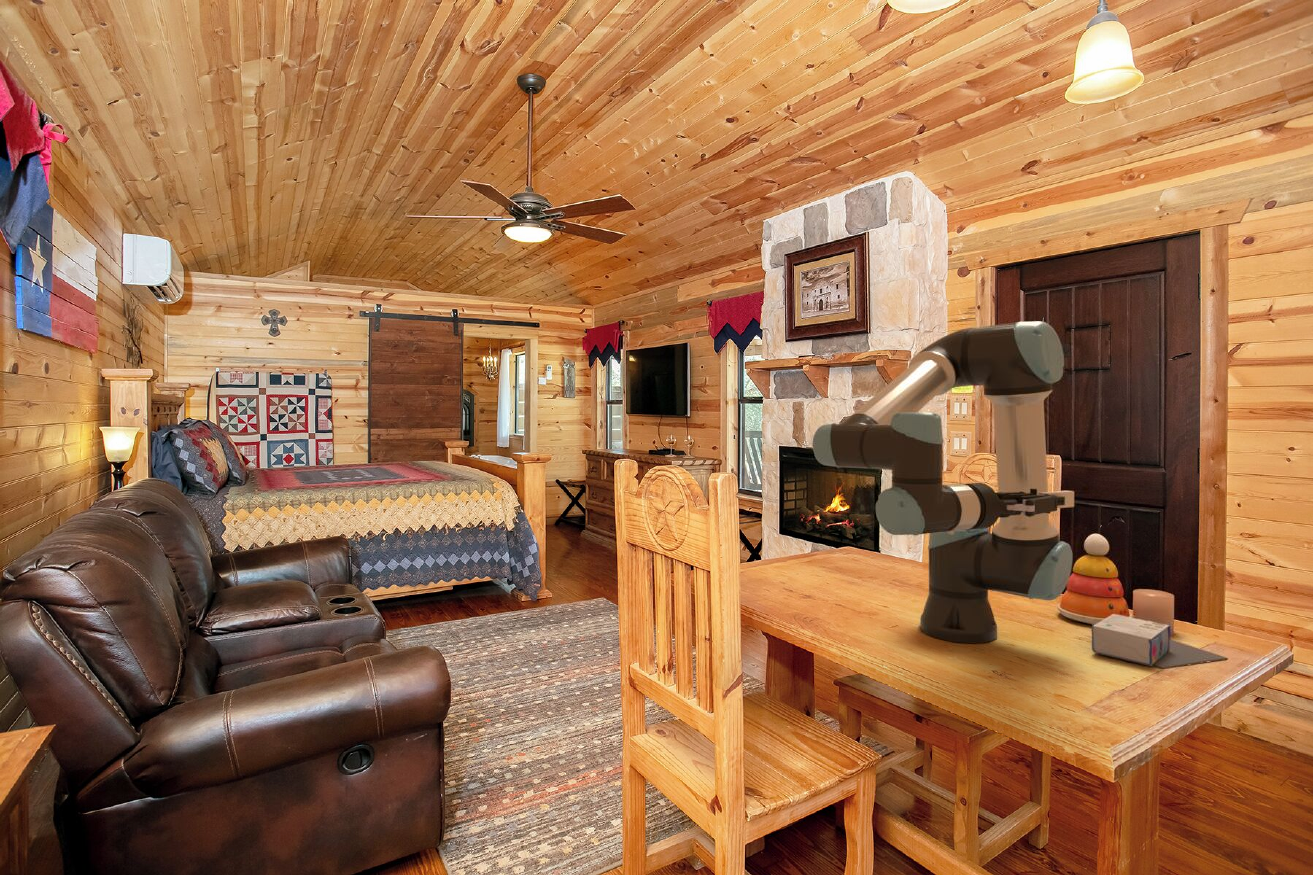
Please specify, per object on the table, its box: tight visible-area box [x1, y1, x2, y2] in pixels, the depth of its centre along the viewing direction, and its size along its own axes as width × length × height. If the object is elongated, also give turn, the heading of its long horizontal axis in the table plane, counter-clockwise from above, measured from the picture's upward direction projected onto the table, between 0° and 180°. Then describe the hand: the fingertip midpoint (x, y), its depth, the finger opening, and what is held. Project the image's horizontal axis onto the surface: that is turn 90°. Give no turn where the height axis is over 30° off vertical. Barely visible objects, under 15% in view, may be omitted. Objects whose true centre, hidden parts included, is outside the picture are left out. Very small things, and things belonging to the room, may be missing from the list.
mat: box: [1152, 638, 1229, 670], centre depth 128 cm, size 12×16×1 cm
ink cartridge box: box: [1091, 614, 1171, 667], centre depth 129 cm, size 10×6×14 cm
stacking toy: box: [1056, 533, 1133, 626], centre depth 149 cm, size 14×14×20 cm
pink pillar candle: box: [1132, 588, 1175, 636], centre depth 141 cm, size 7×7×8 cm
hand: (1070, 498), depth 116 cm, fingers closed
